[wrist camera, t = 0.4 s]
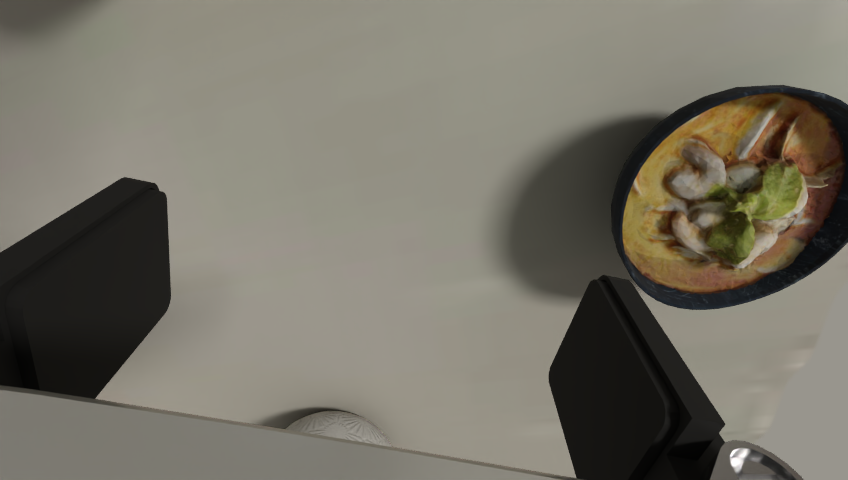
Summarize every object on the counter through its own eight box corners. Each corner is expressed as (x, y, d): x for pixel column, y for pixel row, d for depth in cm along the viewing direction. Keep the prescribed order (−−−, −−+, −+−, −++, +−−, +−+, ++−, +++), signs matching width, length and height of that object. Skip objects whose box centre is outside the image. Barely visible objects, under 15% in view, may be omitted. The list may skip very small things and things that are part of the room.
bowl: (548, 153, 40) (580, 198, 32) (749, 19, 35) (855, 29, 26) (636, 287, 47) (683, 357, 38) (818, 190, 41) (922, 244, 33)
